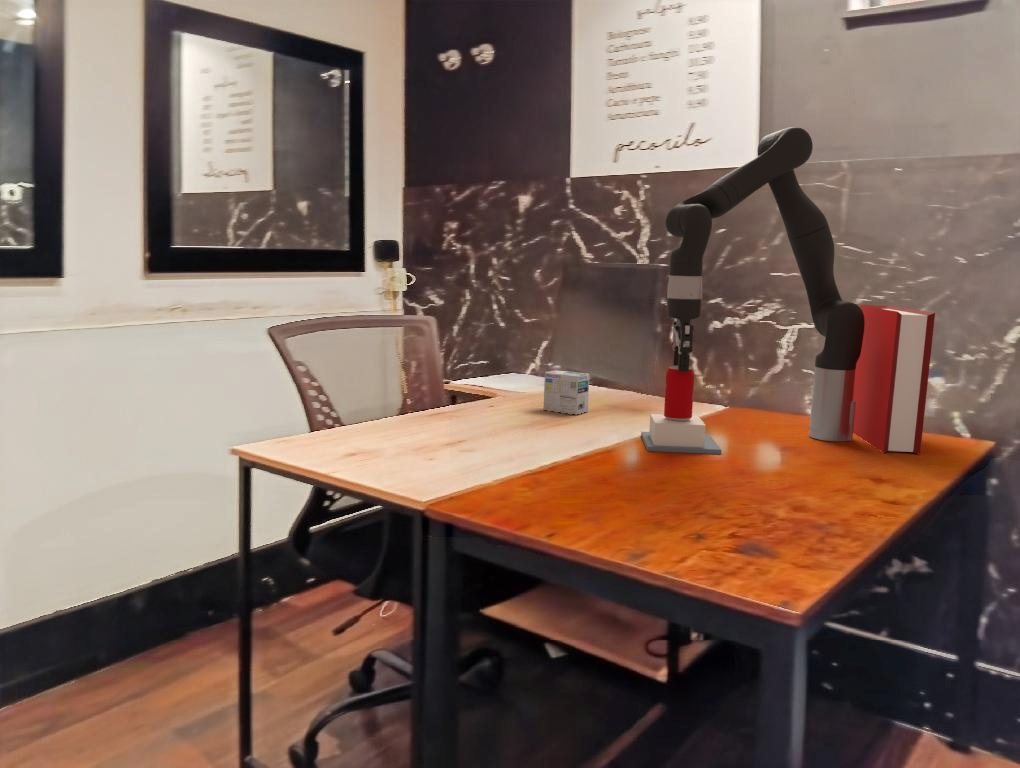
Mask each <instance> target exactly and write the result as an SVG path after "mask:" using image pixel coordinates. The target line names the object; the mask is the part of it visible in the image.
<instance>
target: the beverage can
mask: <svg viewBox="0 0 1020 768" xmlns="http://www.w3.org/2000/svg"><path fill="white" fill-rule="evenodd" d="M693 370H694V369H693V367H692V366H689V371H688V372H680V371H679V370H678V366H673V365H669V366H668V368H667V370H666V373H665V388H664V389H665V390H664V408H663V409H664V410H663V415H664V416H665V417H666V418H667V419H668V420H671V421H688V420H689V419H691V418H692V416H693V407H694V405H693V404H694V403H693V401H694V389H695V387H694V386H695V373H694V371H693Z"/></svg>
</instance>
